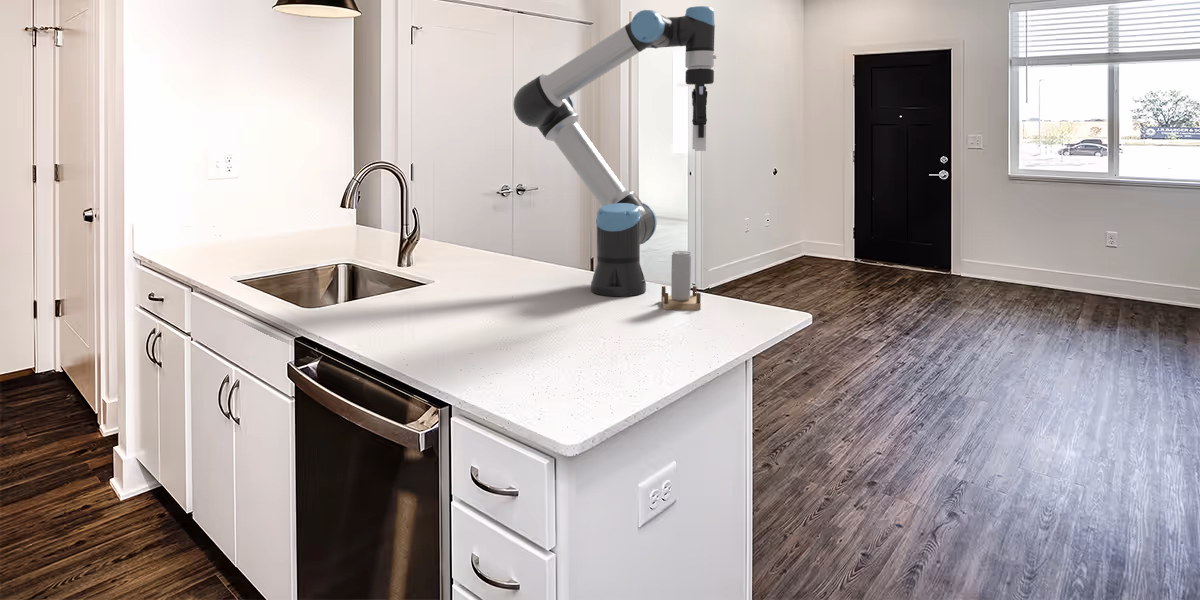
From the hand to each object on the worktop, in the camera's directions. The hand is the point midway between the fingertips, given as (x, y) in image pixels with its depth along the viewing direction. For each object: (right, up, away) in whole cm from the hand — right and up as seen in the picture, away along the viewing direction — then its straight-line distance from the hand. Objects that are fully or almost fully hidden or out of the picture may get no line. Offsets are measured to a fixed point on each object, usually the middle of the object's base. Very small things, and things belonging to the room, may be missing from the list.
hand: (698, 150), depth 208 cm
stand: (-7, -42, -15) cm, 45 cm away
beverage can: (-7, -41, -15) cm, 44 cm away
